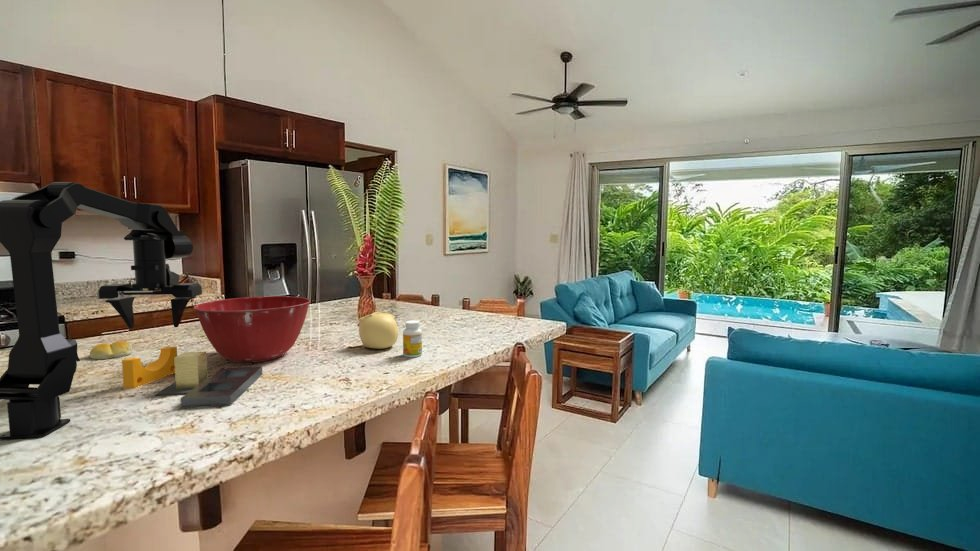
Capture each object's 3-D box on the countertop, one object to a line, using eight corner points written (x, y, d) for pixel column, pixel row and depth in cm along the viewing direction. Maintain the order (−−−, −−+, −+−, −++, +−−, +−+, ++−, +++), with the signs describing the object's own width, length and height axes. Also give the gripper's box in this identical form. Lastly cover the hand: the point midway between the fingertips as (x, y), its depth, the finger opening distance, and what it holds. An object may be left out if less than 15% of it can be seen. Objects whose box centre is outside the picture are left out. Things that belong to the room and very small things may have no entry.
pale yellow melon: (392, 340, 144) (391, 307, 143) (403, 349, 134) (402, 314, 133) (356, 344, 139) (355, 310, 138) (364, 353, 128) (364, 317, 127)
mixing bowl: (203, 349, 131) (200, 298, 129) (307, 340, 144) (305, 292, 142) (189, 377, 106) (186, 313, 104) (317, 363, 119) (315, 306, 117)
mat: (207, 393, 96) (207, 391, 96) (155, 395, 94) (155, 394, 94) (225, 378, 105) (225, 376, 105) (179, 380, 104) (179, 378, 103)
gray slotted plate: (230, 405, 89) (230, 395, 89) (181, 408, 87) (180, 398, 87) (262, 374, 109) (262, 366, 109) (222, 376, 107) (222, 368, 107)
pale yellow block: (198, 387, 98) (197, 356, 97) (176, 388, 97) (174, 357, 96) (207, 381, 102) (206, 351, 101) (186, 382, 101) (184, 352, 101)
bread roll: (92, 355, 124) (91, 341, 124) (133, 350, 130) (132, 337, 129) (87, 362, 118) (86, 347, 117) (130, 357, 123) (130, 343, 123)
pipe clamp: (162, 371, 111) (160, 346, 110) (178, 372, 110) (176, 346, 109) (116, 388, 99) (114, 359, 98) (134, 389, 98) (132, 360, 98)
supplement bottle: (401, 353, 128) (400, 320, 128) (419, 351, 131) (419, 319, 130) (405, 358, 124) (405, 324, 123) (424, 356, 126) (424, 322, 125)
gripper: (210, 258, 111) (213, 320, 112) (125, 258, 107) (129, 321, 109) (188, 261, 100) (192, 329, 101) (93, 261, 96) (98, 331, 98)
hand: (154, 327), depth 102 cm, fingers open, 9 cm apart
